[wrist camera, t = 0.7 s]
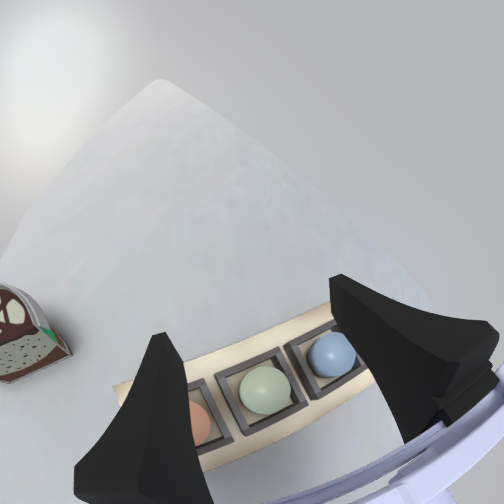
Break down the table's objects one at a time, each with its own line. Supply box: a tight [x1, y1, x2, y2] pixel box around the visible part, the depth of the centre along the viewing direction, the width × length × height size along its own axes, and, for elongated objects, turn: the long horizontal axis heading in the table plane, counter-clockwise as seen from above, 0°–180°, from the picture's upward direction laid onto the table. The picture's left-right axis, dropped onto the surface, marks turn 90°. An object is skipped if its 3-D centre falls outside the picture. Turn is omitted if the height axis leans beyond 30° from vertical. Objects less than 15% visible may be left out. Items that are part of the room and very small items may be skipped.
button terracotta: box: [189, 400, 210, 446], centre depth 19 cm, size 4×4×2 cm
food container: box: [0, 283, 73, 384], centre depth 19 cm, size 12×6×10 cm, turn 123°
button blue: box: [308, 332, 356, 378], centre depth 24 cm, size 4×4×2 cm
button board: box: [113, 302, 375, 473], centre depth 24 cm, size 10×24×4 cm, turn 115°
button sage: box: [238, 366, 291, 414], centre depth 22 cm, size 4×4×2 cm
